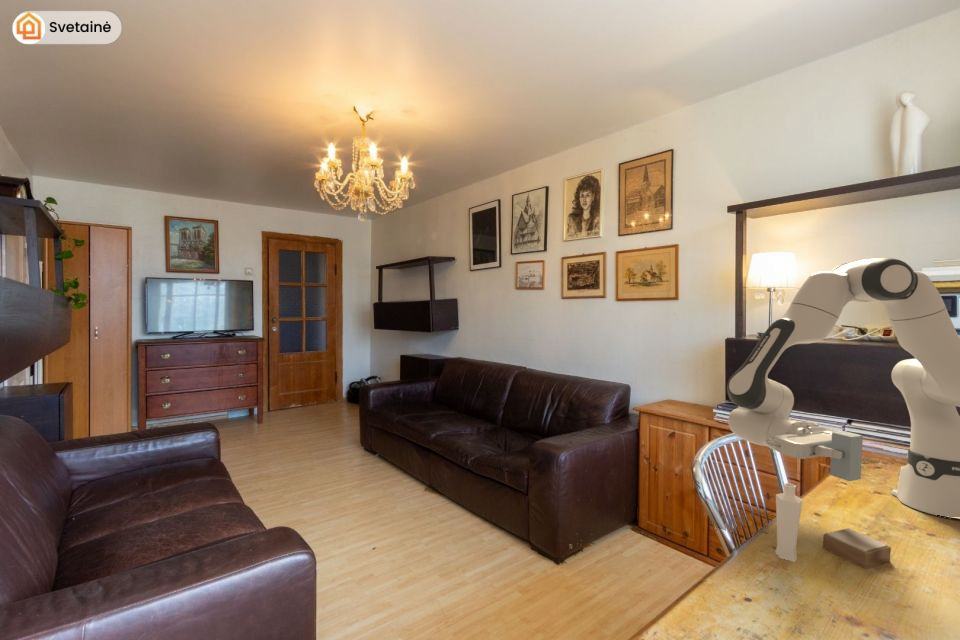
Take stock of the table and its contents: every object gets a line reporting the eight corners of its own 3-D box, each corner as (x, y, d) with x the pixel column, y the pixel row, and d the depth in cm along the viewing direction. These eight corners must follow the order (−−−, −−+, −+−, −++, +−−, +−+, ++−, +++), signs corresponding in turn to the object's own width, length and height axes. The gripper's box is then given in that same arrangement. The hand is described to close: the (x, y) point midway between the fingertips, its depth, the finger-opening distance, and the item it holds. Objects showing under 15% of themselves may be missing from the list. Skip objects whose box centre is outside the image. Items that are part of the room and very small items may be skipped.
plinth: (846, 541, 100) (847, 527, 100) (889, 561, 93) (890, 545, 92) (822, 547, 97) (823, 532, 97) (865, 568, 90) (866, 552, 90)
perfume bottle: (804, 564, 91) (808, 490, 90) (780, 561, 92) (784, 488, 91) (793, 551, 95) (797, 482, 95) (770, 549, 96) (774, 479, 95)
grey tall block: (841, 472, 106) (843, 430, 106) (860, 479, 102) (862, 435, 102) (830, 474, 105) (831, 432, 104) (849, 481, 101) (851, 437, 100)
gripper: (761, 428, 111) (820, 445, 99) (816, 421, 119) (878, 436, 106) (760, 453, 112) (819, 473, 99) (815, 445, 119) (877, 463, 106)
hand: (850, 454), depth 102 cm, fingers closed on grey tall block, 4 cm apart
